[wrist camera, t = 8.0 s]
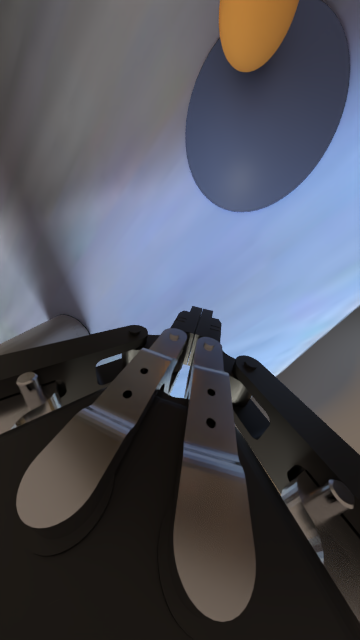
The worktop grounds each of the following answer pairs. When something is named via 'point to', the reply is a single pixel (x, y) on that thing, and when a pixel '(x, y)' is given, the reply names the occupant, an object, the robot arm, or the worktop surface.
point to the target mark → (268, 114)
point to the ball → (253, 30)
